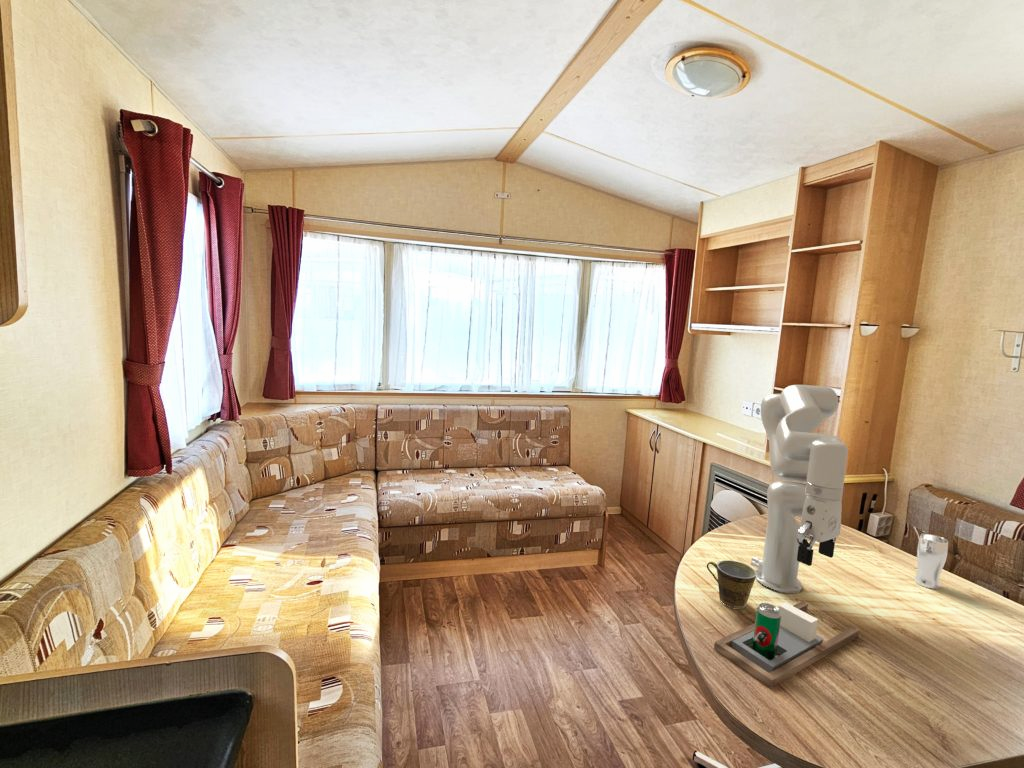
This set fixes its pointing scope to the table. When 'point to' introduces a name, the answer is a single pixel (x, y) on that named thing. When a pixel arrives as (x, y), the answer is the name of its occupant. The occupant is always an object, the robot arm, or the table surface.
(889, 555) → the table surface
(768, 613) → the soda can
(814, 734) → the table surface
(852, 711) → the table surface
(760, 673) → the track
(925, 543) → the beer glass
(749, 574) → the ceramic cup
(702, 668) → the table surface
